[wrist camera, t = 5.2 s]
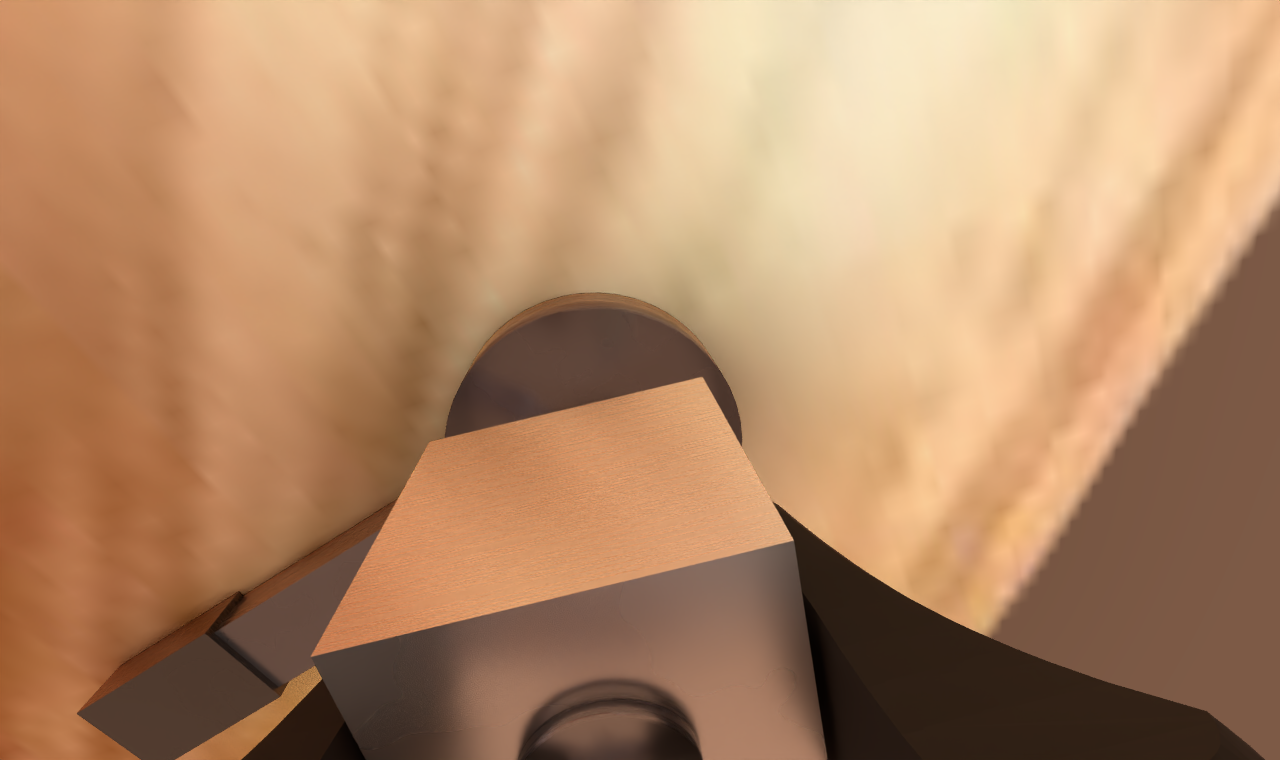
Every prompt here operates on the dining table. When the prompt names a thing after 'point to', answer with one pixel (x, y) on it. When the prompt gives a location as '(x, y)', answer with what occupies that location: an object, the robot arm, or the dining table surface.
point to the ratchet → (314, 586)
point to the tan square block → (580, 598)
